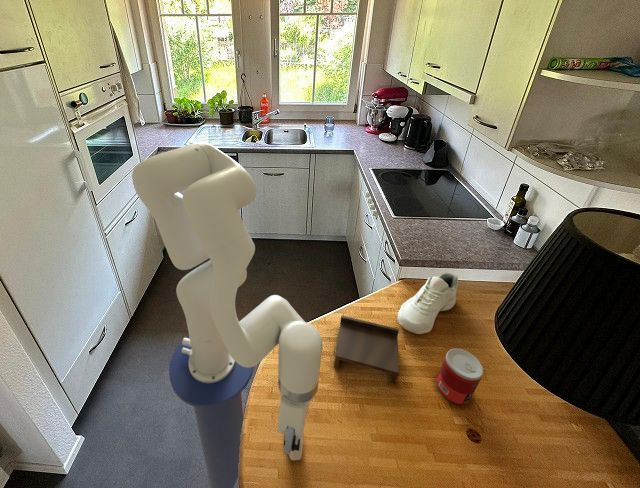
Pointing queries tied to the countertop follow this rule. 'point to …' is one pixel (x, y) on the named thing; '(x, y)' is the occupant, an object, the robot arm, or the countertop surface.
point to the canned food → (459, 376)
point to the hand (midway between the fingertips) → (295, 429)
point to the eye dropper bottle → (297, 454)
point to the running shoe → (428, 303)
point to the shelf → (368, 346)
